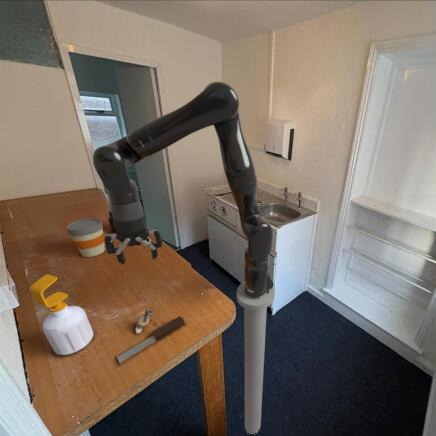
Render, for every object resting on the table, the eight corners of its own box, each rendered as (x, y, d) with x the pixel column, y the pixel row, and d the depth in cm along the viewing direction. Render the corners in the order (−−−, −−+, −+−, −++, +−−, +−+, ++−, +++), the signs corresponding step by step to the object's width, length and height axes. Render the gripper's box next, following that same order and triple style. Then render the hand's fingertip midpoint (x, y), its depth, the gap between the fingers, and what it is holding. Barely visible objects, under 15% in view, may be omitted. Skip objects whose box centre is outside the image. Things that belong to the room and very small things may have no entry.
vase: (155, 317, 81) (152, 304, 79) (155, 329, 77) (152, 316, 75) (137, 322, 79) (133, 309, 76) (136, 335, 75) (132, 322, 72)
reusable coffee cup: (69, 259, 105) (58, 231, 98) (86, 245, 116) (76, 218, 110) (101, 258, 108) (92, 230, 101) (114, 244, 119) (106, 217, 112)
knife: (180, 319, 81) (180, 315, 80) (184, 324, 80) (184, 320, 79) (116, 357, 68) (115, 353, 67) (119, 364, 66) (118, 359, 66)
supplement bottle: (129, 229, 133) (124, 210, 128) (118, 234, 127) (113, 214, 122) (119, 226, 134) (114, 207, 129) (108, 232, 128) (102, 212, 123)
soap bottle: (101, 334, 74) (76, 273, 64) (69, 360, 66) (35, 295, 56) (80, 325, 76) (53, 265, 66) (46, 350, 68) (10, 285, 58)
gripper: (94, 223, 62) (109, 271, 69) (155, 217, 67) (163, 263, 74) (101, 212, 68) (115, 257, 75) (157, 207, 73) (164, 250, 80)
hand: (139, 260), depth 75 cm, fingers open, 8 cm apart
